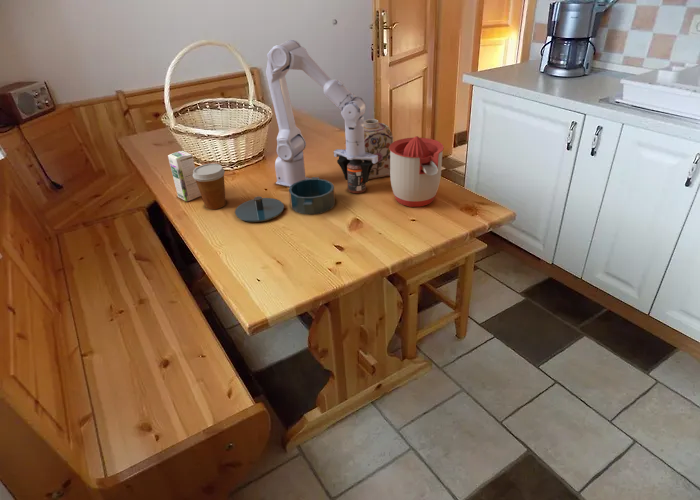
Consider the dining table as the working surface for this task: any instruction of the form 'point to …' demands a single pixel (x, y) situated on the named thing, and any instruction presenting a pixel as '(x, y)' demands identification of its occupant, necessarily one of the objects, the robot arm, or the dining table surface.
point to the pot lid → (259, 209)
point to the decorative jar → (378, 146)
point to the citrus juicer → (415, 170)
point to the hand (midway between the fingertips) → (356, 180)
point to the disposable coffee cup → (211, 184)
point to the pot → (312, 196)
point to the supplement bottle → (355, 176)
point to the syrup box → (184, 175)
